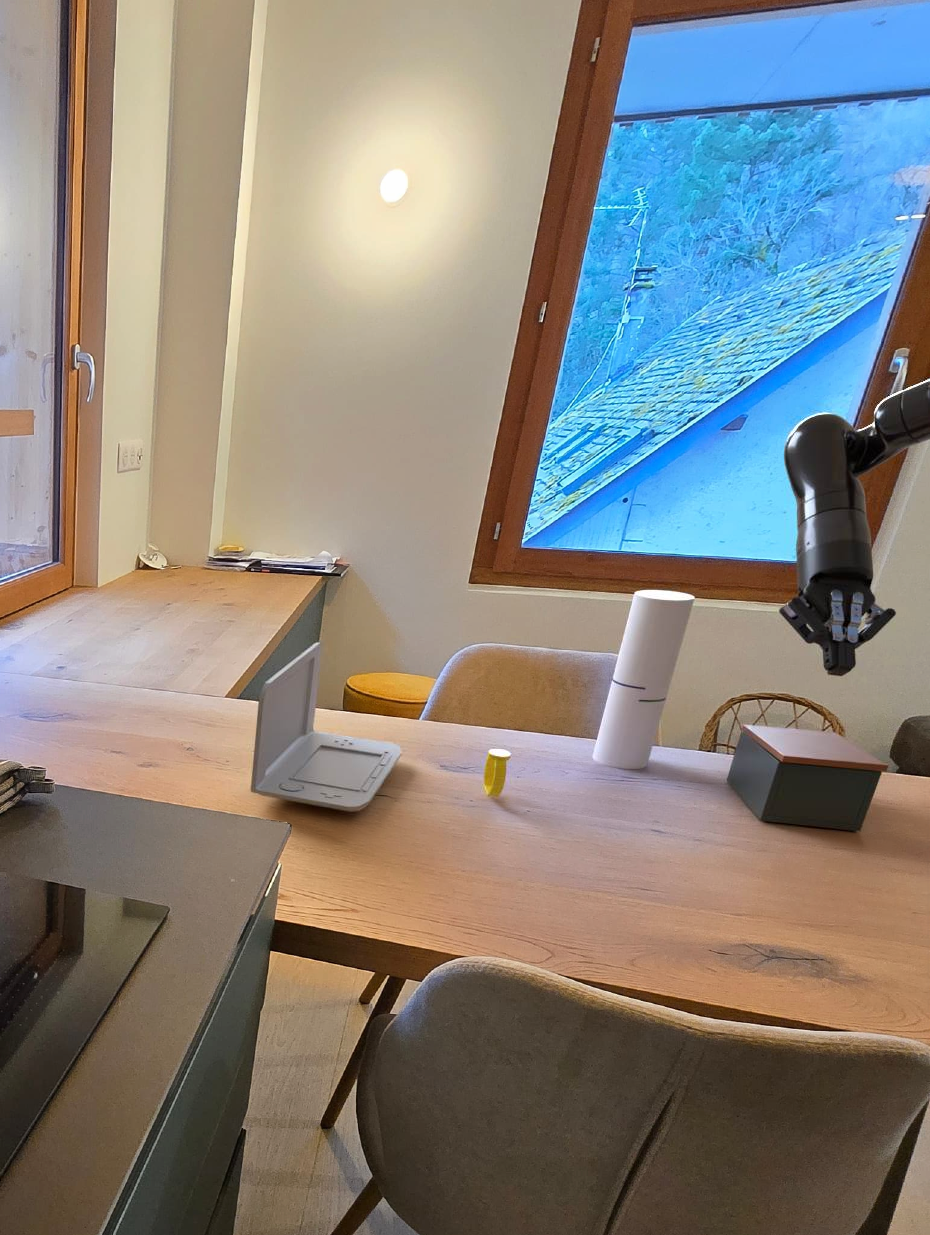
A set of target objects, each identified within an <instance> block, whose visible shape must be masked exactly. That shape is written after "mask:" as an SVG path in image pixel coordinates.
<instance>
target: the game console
mask: <svg viewBox="0 0 930 1235" xmlns="http://www.w3.org/2000/svg"><path fill="white" fill-rule="evenodd" d="M322 656H323V645H322V643H321V642H317V641H316V642H314V644H312V645H311V646H309V647H308V648H307V649H306V650H304V651H303V652H302V653H300V654H299V655H298V656H297V657H295V659H292V661H290V662H289V663H288V664H287V665H285V666H284V667H282V669H280V670H279V671H278V672H276V673H275V674H274V675H273V676H271V677H270V678H269V679H268V680H266V681H265V682H264V684H263V686H262V688H261V691H260V695H259V697H258V705H257V715H256V718H257V719H256V727H255V736H254V750H253V759H252V760H253V761H252V771H251V772H252V773H251V781H250V792H251V793H253V794H258V795H259V796H263V797H268V798H272V799H279V800H283V801H289V802H294V803H295V802H296V803H300V804H305V805H312V806H316V807H322V808H328V809H333V810H339V811H344V812H348V813H351V812H352V813H353V812H355V813H356V812H360V811H362V810H363V809H365V808H366V807H368V805H369V804H370V803H371V801H372V799H373V798H374V797H375V796H376V794H377V792H378V791H379V790H380V788H381V786H382V785H383V783H384V782H385V780H386V779H387V778H388V776H389V774H390V773H391V772H392V770H393V769H394V767H395V765H396V764H397V763H398V761H399V760H400V758H401V757H402V755H403V750H402V748H401V745H399V744H397V743H395V742H389V741H382V740H378V739H377V740H376V739H370V738H362V737H358V736H357V737H355V736H351V735H350V736H349V735H342V734H335V733H329V732H322V731H316V730H314V725H315V724H314V723H315V716H316V707H317V698H318V691H319V683H320V682H319V680H320V674H321V673H320V672H321V665H322Z"/></svg>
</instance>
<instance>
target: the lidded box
mask: <svg viewBox="0 0 930 1235" xmlns="http://www.w3.org/2000/svg"><path fill="white" fill-rule="evenodd" d="M882 774H883V771H875V770H864V769H853V768H843V767H832V766H821V765H810V764H800V763H789V762H782V761H780V760H779V759H778V758H777V757H775V756H774V755H773V754H772V753H770V752H769V751H768V750H766V749H765V748H764V747H763V746H761V745H760V744H759V743H758V742H756V741H755V740H754V739H752V738H751V737H750V736H749V735H747V734H746V733H745V732H743V731H742V730H741V731H740V734H739V738H738V741H737V744H736V748H735V751H734V754H733V757H732V761H731V764H730V767H729V771H728V774H727V777H726V782H727V784H729V786H730V787H731V789H732V790H733V791H734V792H735V794H736V795H737V797H738V798H739V799H740V801H741V802H742V803H743V804H744V805H745V806H746V808H748V809H749V810H750V812H752V814H753V815H754V816H755V817H756V818H757V819H758V820H759V821H762V822H772V823H781V824H789V825H798V826H809V827H817V828H826V829H835V830H844V831H853V832H861V830H862V827H863V826H864V822H865V819H866V817H867V814H868V811H869V809H870V807H871V803H872V801H873V797H874V796H875V793H876V790H877V787H878V784H879V782H880V779H881V776H882Z"/></svg>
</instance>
